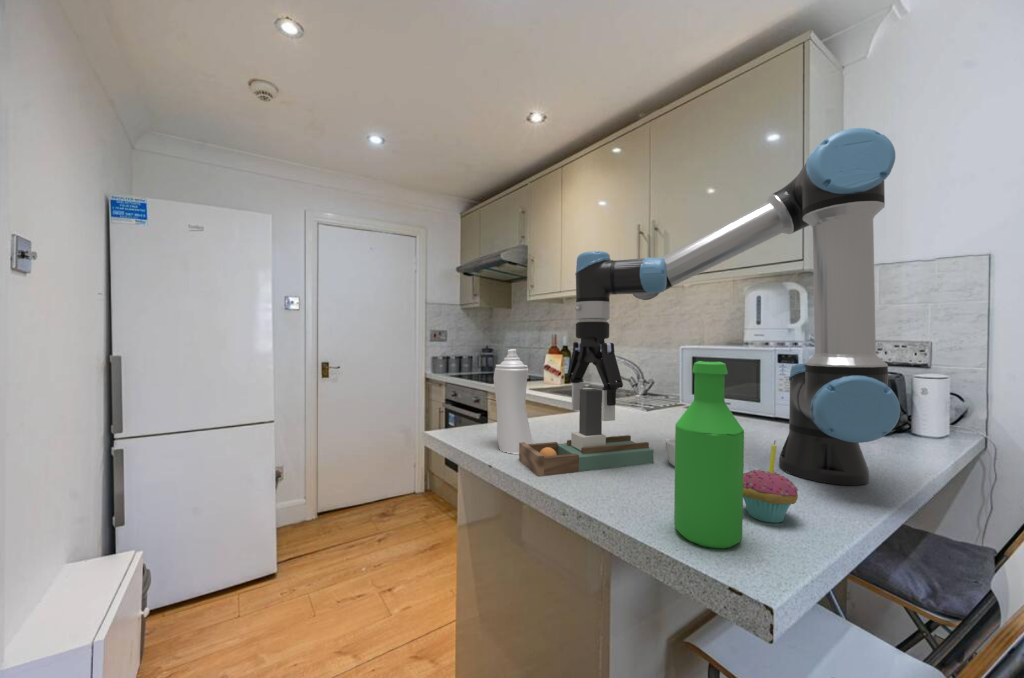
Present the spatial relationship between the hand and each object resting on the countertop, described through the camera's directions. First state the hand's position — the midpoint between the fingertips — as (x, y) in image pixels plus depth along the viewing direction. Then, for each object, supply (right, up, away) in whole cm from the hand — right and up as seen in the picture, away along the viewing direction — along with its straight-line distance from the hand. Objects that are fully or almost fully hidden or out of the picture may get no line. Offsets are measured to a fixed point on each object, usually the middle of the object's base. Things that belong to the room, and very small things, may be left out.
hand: (591, 414), depth 93 cm
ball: (-10, -8, -3) cm, 14 cm away
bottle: (+10, -11, -35) cm, 38 cm away
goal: (-10, -10, -3) cm, 15 cm away
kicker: (-1, -8, 0) cm, 8 cm away
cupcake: (+22, -11, -28) cm, 37 cm away
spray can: (-18, -10, +11) cm, 24 cm away
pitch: (+3, -11, +1) cm, 11 cm away
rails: (+4, -8, +2) cm, 9 cm away
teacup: (+21, -11, -3) cm, 24 cm away
